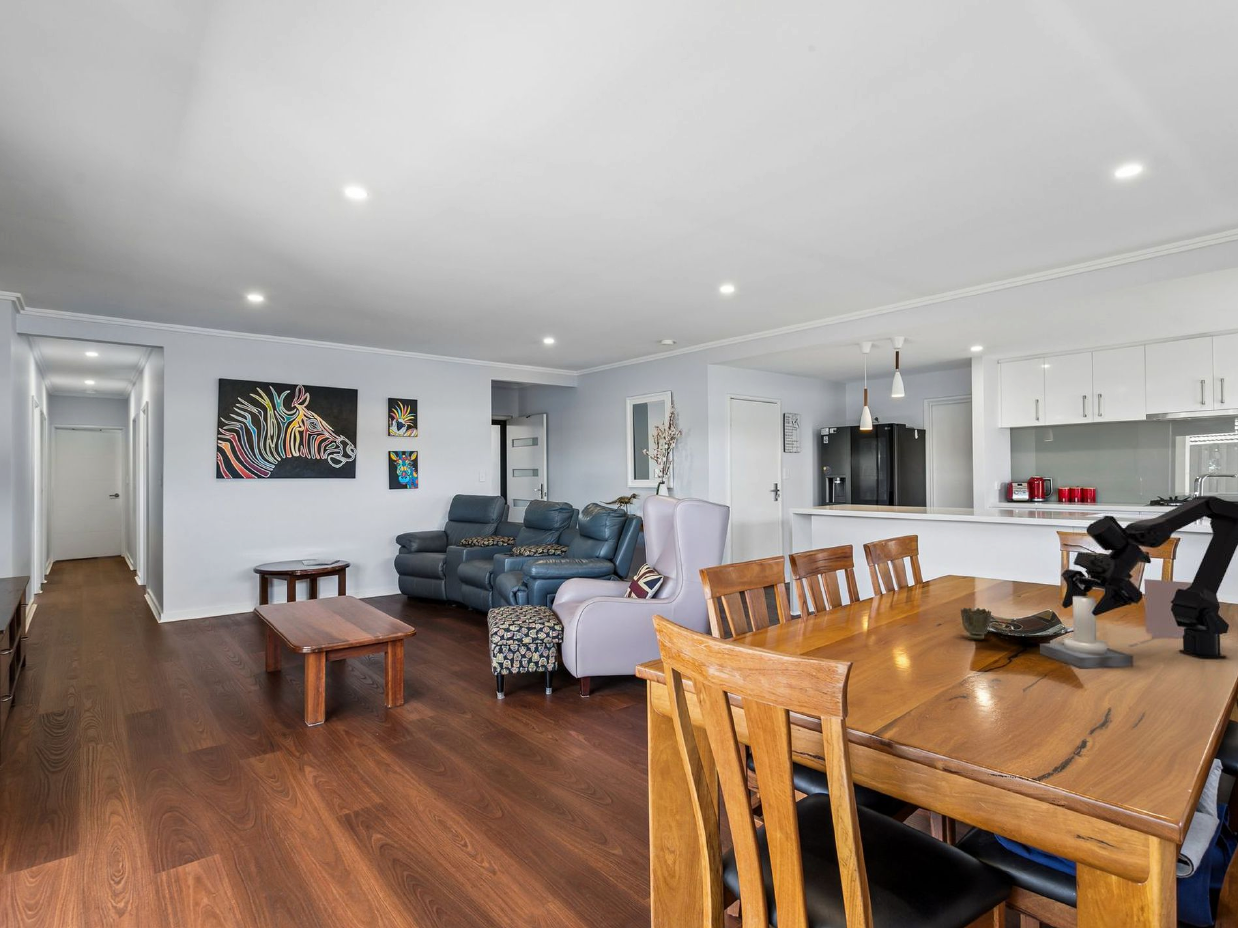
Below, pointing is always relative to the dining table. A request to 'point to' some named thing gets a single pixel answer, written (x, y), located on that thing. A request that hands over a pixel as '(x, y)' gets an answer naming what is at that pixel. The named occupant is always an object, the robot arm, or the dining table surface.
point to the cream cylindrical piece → (1084, 628)
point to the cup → (976, 622)
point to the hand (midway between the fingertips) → (1078, 610)
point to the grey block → (1086, 657)
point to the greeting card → (1162, 608)
